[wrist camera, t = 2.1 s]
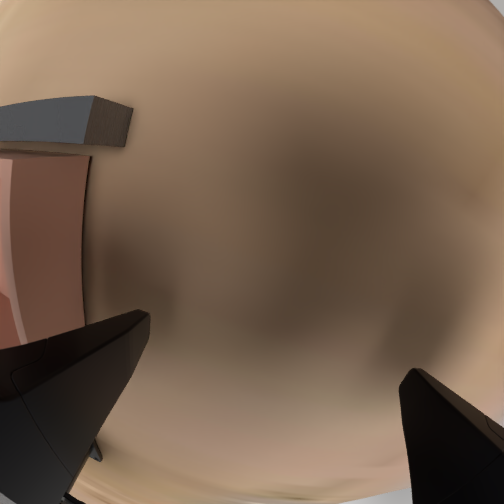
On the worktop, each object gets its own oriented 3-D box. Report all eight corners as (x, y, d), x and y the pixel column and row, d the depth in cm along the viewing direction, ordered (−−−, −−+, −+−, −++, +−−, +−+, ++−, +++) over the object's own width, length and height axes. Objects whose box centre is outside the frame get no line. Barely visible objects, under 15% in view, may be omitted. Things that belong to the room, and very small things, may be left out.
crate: (87, 342, 11) (43, 389, 8) (1, 292, 11) (-38, 318, 8) (89, 156, 9) (12, 159, 5) (-3, 148, 9) (-56, 155, 5)
